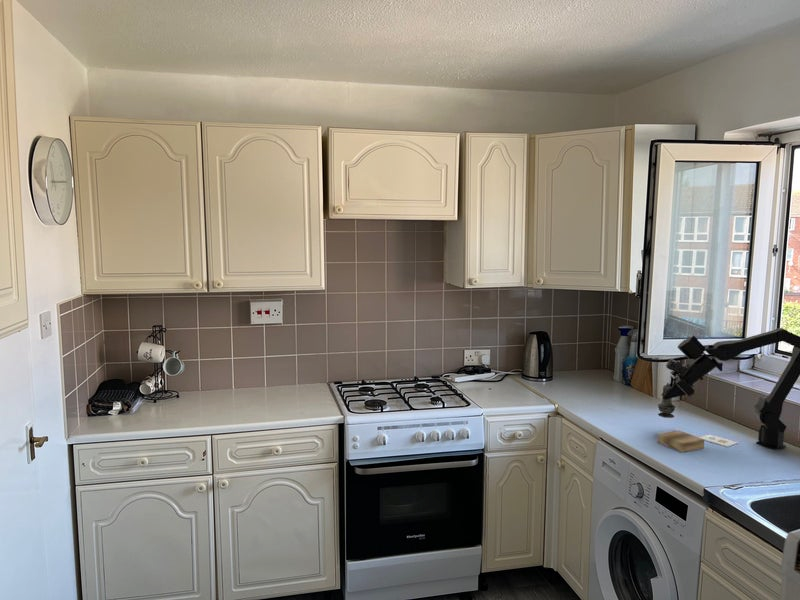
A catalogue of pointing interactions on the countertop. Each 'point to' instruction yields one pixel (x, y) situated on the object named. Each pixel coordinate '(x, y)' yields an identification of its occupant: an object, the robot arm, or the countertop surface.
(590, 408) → the countertop surface
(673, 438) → the base brick
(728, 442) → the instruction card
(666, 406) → the weathered stone finial
